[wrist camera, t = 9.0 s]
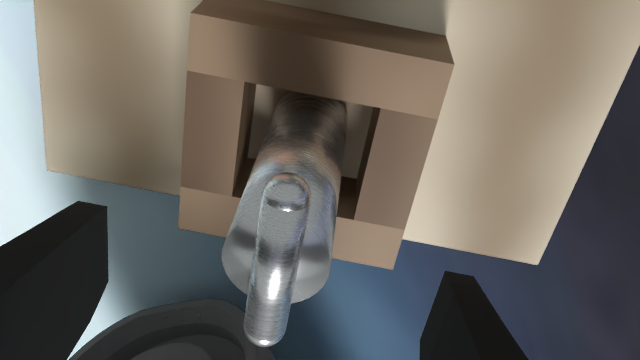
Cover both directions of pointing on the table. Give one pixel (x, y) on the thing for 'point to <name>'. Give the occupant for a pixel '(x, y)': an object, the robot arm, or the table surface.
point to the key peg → (288, 213)
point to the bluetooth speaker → (177, 335)
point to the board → (450, 133)
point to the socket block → (315, 79)
